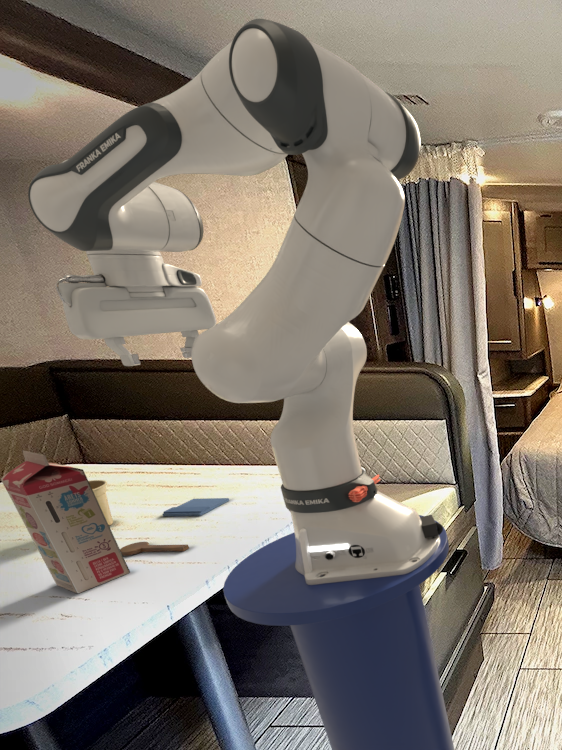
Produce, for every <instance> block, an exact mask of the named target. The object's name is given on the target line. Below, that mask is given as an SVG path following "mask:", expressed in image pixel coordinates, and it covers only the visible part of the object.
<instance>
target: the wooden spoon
mask: <svg viewBox="0 0 562 750" xmlns="http://www.w3.org/2000/svg"><path fill="white" fill-rule="evenodd" d="M119 549H120V551H121V553H122V555H123V557H128V556H129V557H130V556H135V555H138V554H141V553H155V552H156V553H157V552H158V553H159V552H164V553H165V552H166V553H167V552H186V551H187V550H189V549H190V546H189V544H150V543H149V542H148V541H137V542H132V543H130V544H127V545H125V546H122V547H121V548H119Z"/></svg>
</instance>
